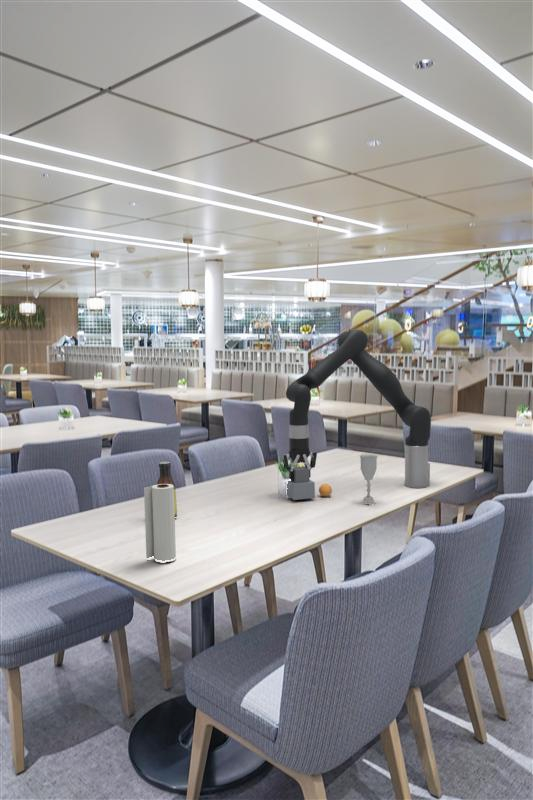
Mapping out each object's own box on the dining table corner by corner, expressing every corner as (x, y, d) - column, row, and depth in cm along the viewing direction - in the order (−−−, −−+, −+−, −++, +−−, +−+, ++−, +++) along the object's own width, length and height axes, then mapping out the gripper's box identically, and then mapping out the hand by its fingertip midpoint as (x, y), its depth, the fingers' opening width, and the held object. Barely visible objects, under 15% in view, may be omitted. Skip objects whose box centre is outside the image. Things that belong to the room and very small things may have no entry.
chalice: (377, 506, 226) (377, 457, 225) (358, 505, 228) (358, 457, 226) (378, 501, 234) (378, 454, 232) (359, 500, 235) (359, 453, 233)
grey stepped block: (306, 492, 243) (305, 465, 242) (314, 497, 235) (314, 469, 234) (285, 494, 241) (285, 466, 240) (293, 500, 233) (293, 471, 232)
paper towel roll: (180, 558, 175) (177, 483, 173) (168, 565, 170) (166, 488, 168) (158, 555, 178) (156, 481, 176) (146, 562, 172) (143, 486, 170)
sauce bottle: (180, 517, 216) (178, 461, 214) (172, 522, 210) (170, 464, 208) (163, 515, 218) (161, 460, 216) (154, 520, 212) (153, 463, 210)
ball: (328, 494, 245) (328, 481, 244) (333, 497, 240) (333, 484, 240) (316, 495, 243) (316, 483, 243) (322, 498, 238) (321, 485, 238)
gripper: (312, 433, 242) (313, 476, 243) (277, 436, 237) (278, 479, 239) (320, 436, 235) (320, 480, 236) (284, 439, 230) (285, 483, 232)
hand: (299, 479), depth 237 cm, fingers closed on grey stepped block, 5 cm apart
